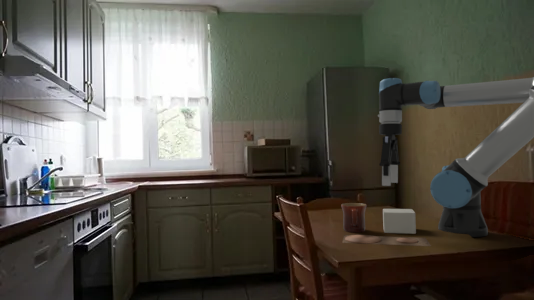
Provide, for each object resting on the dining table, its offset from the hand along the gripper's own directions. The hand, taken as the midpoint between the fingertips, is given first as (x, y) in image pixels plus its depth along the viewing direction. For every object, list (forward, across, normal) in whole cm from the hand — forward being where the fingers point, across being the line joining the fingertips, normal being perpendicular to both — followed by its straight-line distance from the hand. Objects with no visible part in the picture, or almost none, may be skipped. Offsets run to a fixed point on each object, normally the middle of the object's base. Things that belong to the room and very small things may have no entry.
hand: (390, 184), depth 129 cm
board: (+17, +17, +2) cm, 24 cm away
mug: (+18, +7, -11) cm, 22 cm away
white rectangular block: (+17, 0, +3) cm, 17 cm away
